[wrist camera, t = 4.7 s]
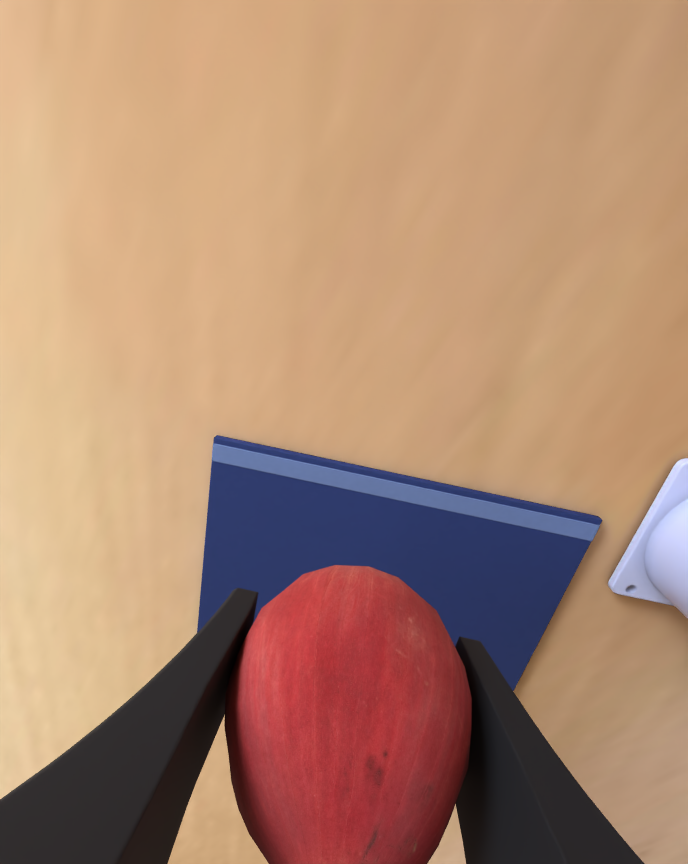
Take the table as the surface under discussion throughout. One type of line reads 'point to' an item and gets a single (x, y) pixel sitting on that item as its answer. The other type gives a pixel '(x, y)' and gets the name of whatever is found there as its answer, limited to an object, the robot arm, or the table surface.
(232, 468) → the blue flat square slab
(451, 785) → the onion
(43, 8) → the table surface
